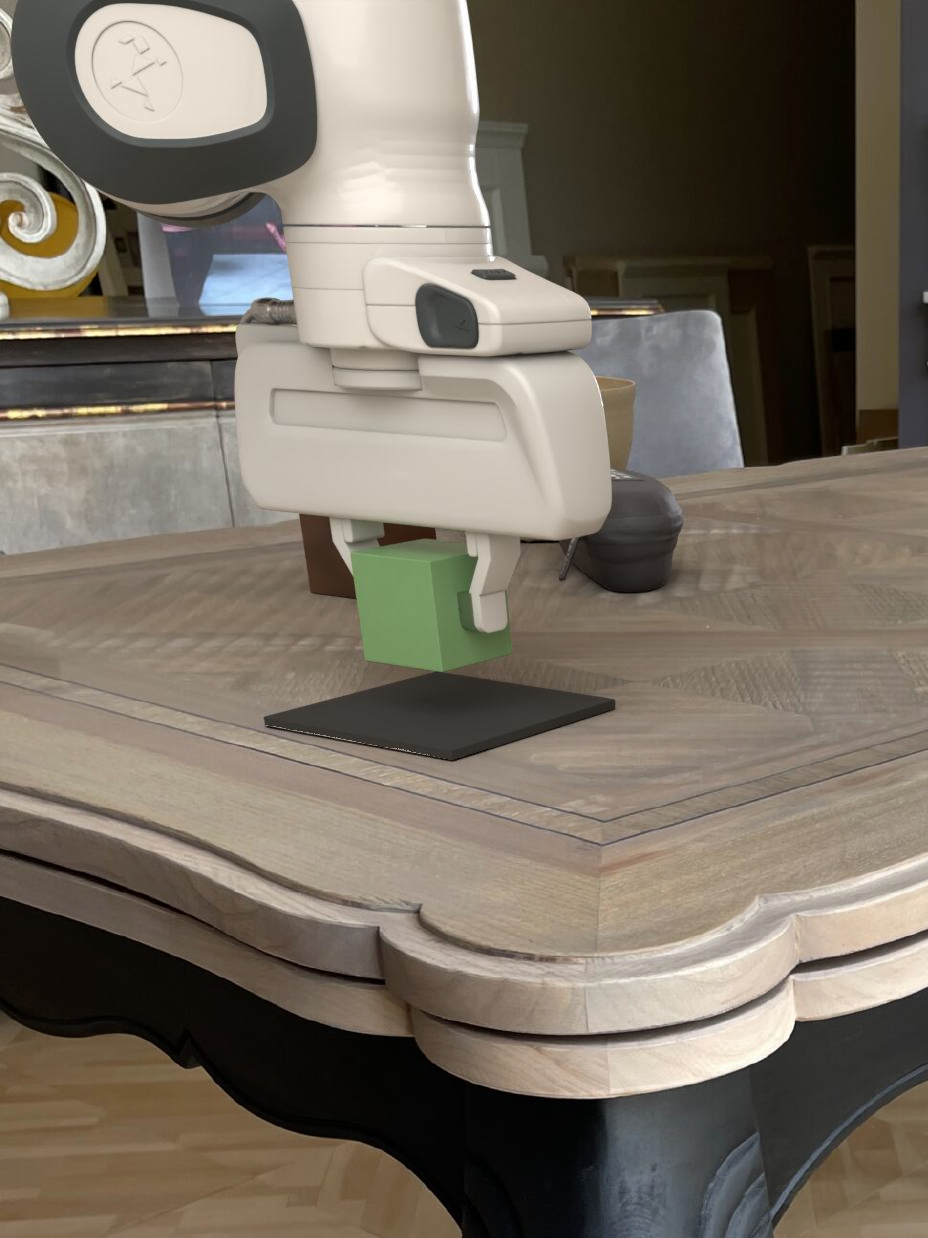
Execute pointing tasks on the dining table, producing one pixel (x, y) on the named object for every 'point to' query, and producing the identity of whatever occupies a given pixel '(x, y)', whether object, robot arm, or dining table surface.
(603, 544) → the glasses case
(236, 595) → the dining table surface
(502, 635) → the green block
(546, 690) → the coaster
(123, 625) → the dining table surface
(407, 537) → the walnut block
